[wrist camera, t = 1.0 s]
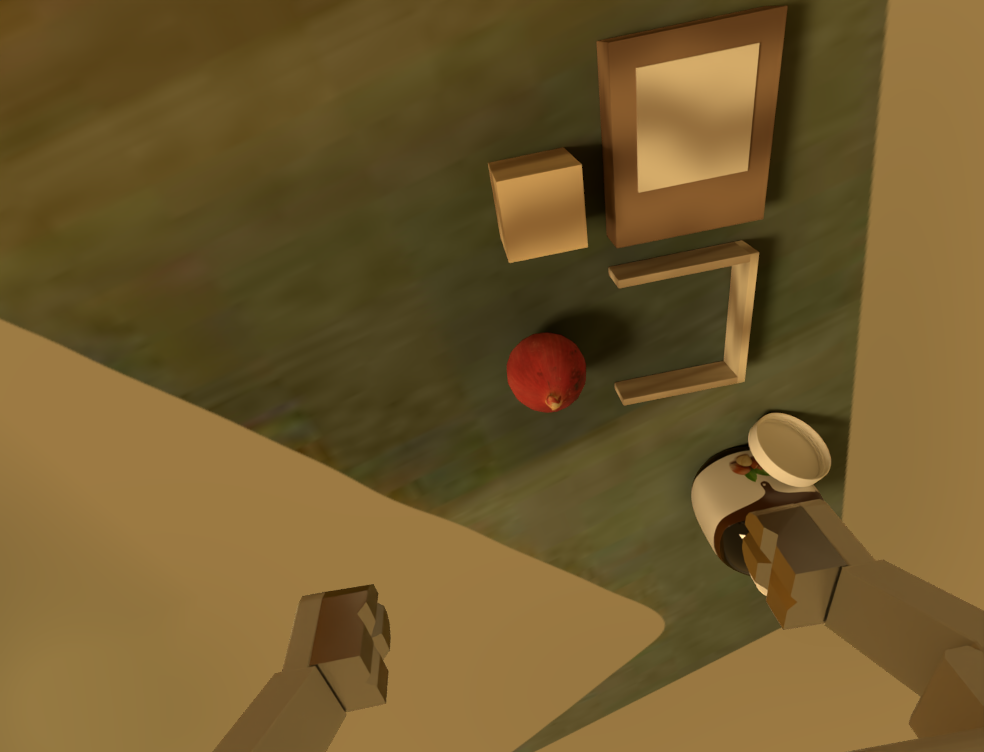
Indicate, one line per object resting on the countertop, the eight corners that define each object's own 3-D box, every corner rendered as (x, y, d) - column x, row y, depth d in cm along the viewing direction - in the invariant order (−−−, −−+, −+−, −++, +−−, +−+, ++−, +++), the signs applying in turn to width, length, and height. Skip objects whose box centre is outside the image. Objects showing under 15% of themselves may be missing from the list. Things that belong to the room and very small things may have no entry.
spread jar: (684, 511, 56) (737, 614, 46) (675, 431, 50) (735, 531, 40) (799, 480, 55) (878, 579, 45) (805, 395, 49) (899, 488, 39)
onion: (573, 309, 42) (600, 365, 35) (574, 371, 45) (599, 433, 38) (498, 319, 41) (511, 377, 35) (505, 381, 45) (518, 444, 38)
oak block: (487, 162, 35) (496, 182, 31) (563, 147, 35) (581, 164, 31) (500, 236, 38) (509, 263, 34) (570, 221, 38) (587, 247, 34)
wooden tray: (596, 41, 32) (609, 42, 30) (764, 6, 32) (789, 5, 29) (614, 388, 46) (624, 406, 44) (730, 365, 46) (745, 383, 44)
